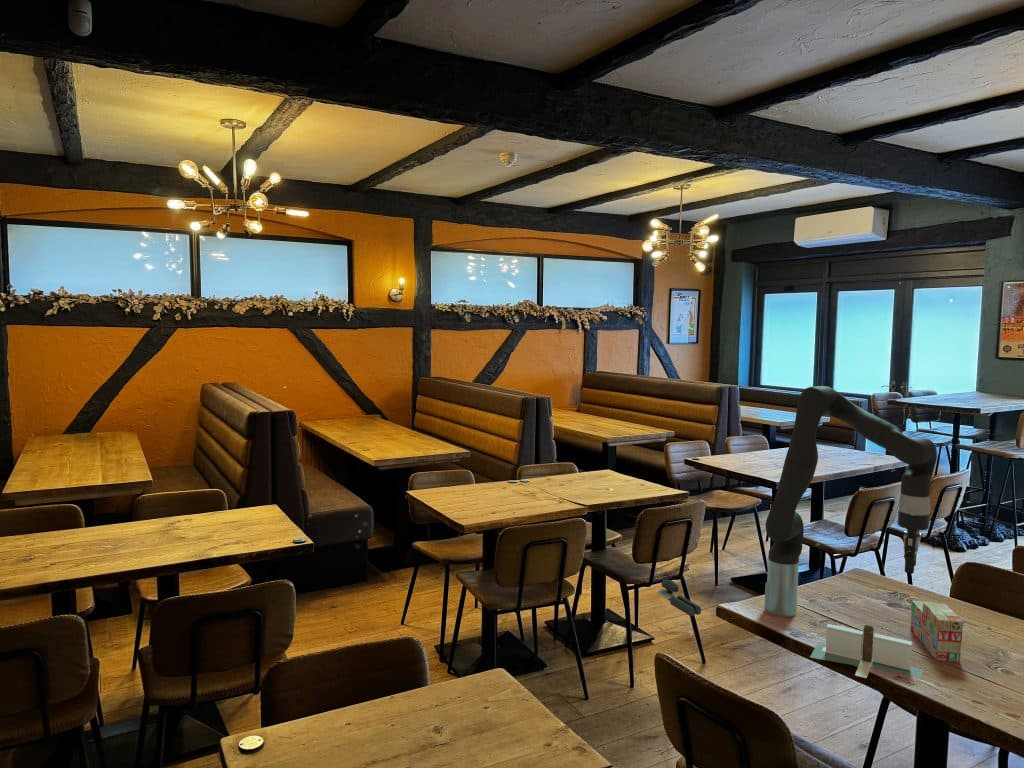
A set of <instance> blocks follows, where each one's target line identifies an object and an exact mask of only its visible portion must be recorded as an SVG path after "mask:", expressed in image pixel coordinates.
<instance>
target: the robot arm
mask: <svg viewBox="0 0 1024 768" xmlns="http://www.w3.org/2000/svg"><path fill="white" fill-rule="evenodd" d="M826 416H827V417H831V418H835V419H837V420H840V421H841V422H844V423H846V425H849V426H850V427H851V428H853V429H854V431H855V432H856V433H858V434H859V435H860V436H861V437H863V438H864V439H866V440H867V441H869V442H871V443H873V444H875V445H877V446H879V447H880V448H883V449H885V450H886V451H887V452H888V453H889V454H891V455H892V456H893V457H894V458H896V459H897V460H899V462H902V463H904V464H907V465H908V467H907V470H906V471H905V472H904V473H903V474H902V475H901V482H900V495H899V499H898V510H897V511H898V512H897V514H898V515H897V525H898V526H899V527H900V528H903V529H906V531H904V534H903V542H904V543H903V551H904V555H903V558H904V573H906V574H907V573H908V574H914V573H915V572H914V571H915V566H916V565H917V555H918V554H917V553H918V552H919V548H920V546H921V545H920V543H921V538H922V534H921V533H920V531H926V530H927V531H928V529H929V526H930V512H931V511H930V510H931V499H930V496H931V480H932V477H933V474H934V471H935V467H936V463H937V458H938V451H937V446H936V444H935V443H934V442H933V441H932V440H931V439H929V438H927V437H917V438H910V437H909V436H907V435H905V434H903V430H902V429H901V428H900V427H898V426H896V425H895V424H893V423H890V422H889V421H887V420H885V419H883V418H880V417H878V416H876V415H874V414H872V413H870V412H868V411H866V410H865V409H863V408H862V407H860V406H858V405H856V404H855V403H853V402H852V401H851V400H849V399H848V398H846V397H845V396H844V395H842V393H840V392H838V391H836V390H835V389H834V388H832V387H830V386H828V385H827V386H826V385H819V386H818V385H815V386H809V387H808V386H807V387H806V388H805V389H803V390H802V391H801V393H800V395H799V397H798V402H797V406H796V414H795V420H794V426H793V430H792V433H791V437H790V441H789V444H788V449H787V451H786V455H785V460H784V462H783V466H782V470H781V475H780V478H779V481H778V486H777V490H776V493H775V497H774V498H773V499H774V500H773V502H772V504H771V506H770V510H769V511H768V514H767V517H766V520H765V532H766V534H767V536H768V538H769V539H770V540H772V541H773V544H772V546H771V547H770V548H769V550H768V555H767V556H768V558H767V559H768V560H767V578H766V579H767V581H766V582H765V584H764V585H765V587H764V607H763V609H764V612H767V613H768V614H770V615H774V616H776V617H780V618H781V617H782V618H791V617H795V616H796V615H797V608H798V605H797V604H798V588H799V587H798V586H799V585H798V584H799V563H800V556H801V554H802V550H803V542H804V534H805V533H804V532H805V530H804V529H805V527H804V521H803V518H802V516H801V515H800V513H798V512H797V511H796V510H797V508H798V506H799V502H800V500H801V499H802V498H803V496H804V495H805V493H806V492H807V489H809V486H810V485H811V483H812V481H813V479H814V477H815V472H816V469H817V465H818V463H819V462H818V461H819V452H818V445H817V433H818V427H819V424H820V421H821V419H822V417H826Z"/></svg>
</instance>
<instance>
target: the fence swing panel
mask: <svg viewBox="0 0 1024 768" xmlns="http://www.w3.org/2000/svg"><path fill="white" fill-rule="evenodd" d="M912 649H913V641H910V640H905V639H901V638H897V637H892V636H888V635H882V634H878V633H873V648H872V658H873V661H872V662H876V663H881V664H885V665H889V666H893V667H897V668H901V669H905V670H909V671H910V667H911V666H912V665H911V661H912Z"/></svg>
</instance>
